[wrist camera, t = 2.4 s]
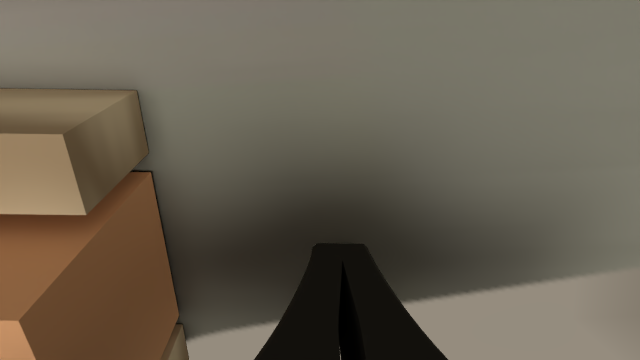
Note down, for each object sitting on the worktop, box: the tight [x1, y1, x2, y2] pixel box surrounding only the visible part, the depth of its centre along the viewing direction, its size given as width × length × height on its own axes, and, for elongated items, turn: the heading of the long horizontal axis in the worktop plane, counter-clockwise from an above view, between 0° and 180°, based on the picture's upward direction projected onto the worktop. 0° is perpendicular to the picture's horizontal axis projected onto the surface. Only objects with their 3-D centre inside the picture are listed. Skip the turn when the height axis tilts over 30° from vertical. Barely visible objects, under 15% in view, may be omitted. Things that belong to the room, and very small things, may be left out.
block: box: [0, 172, 179, 360], centre depth 9 cm, size 5×5×5 cm
